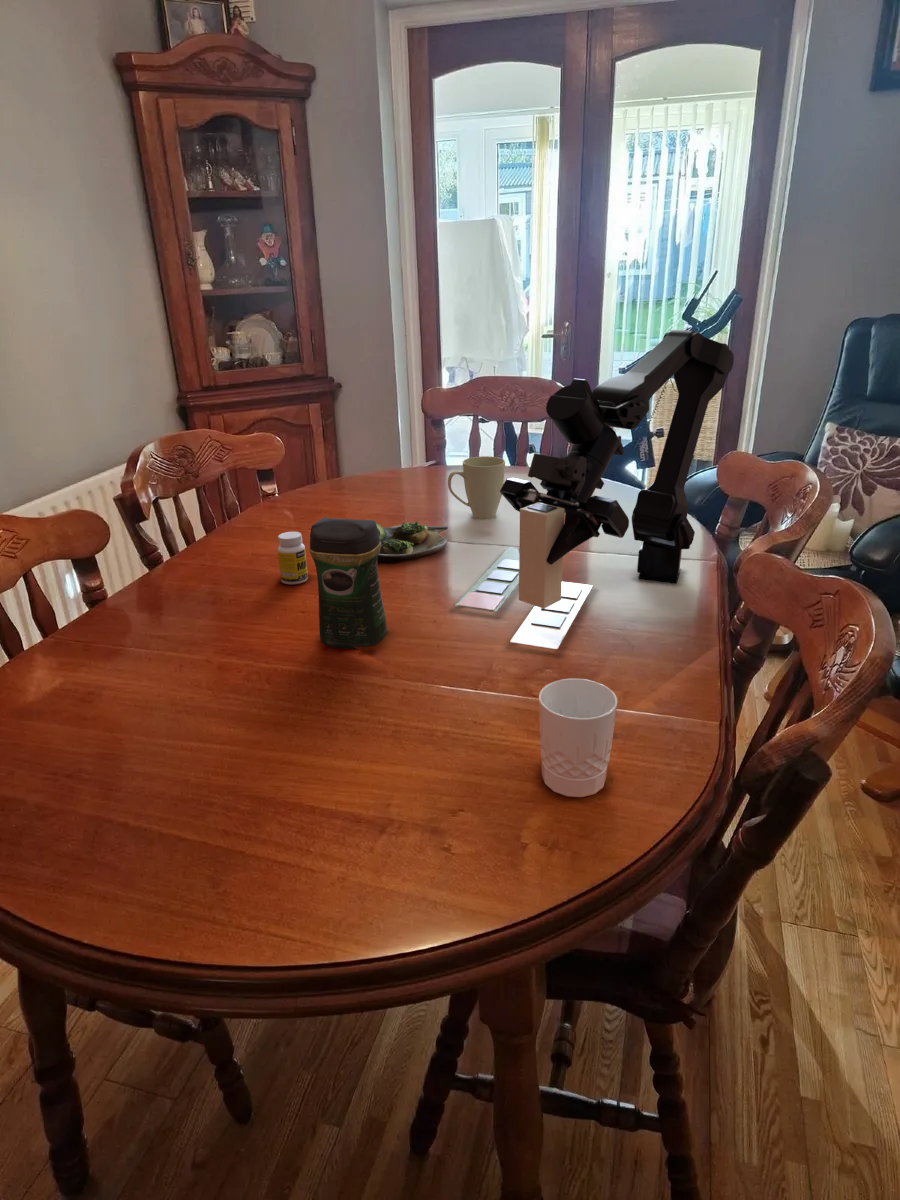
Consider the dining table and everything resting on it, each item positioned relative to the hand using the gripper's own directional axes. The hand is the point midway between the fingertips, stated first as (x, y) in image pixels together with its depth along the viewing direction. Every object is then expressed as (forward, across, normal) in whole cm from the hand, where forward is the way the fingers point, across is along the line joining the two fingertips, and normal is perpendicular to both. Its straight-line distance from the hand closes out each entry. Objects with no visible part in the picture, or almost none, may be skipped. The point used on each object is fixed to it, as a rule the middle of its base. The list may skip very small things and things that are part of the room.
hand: (534, 558), depth 103 cm
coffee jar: (+21, -21, -2) cm, 30 cm away
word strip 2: (+3, -4, +16) cm, 17 cm away
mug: (-18, -46, +38) cm, 62 cm away
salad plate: (-1, -46, +20) cm, 50 cm away
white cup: (+24, +22, -5) cm, 33 cm away
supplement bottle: (+16, -47, +4) cm, 49 cm away
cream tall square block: (+4, 0, +6) cm, 7 cm away
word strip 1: (-1, -19, +20) cm, 28 cm away
